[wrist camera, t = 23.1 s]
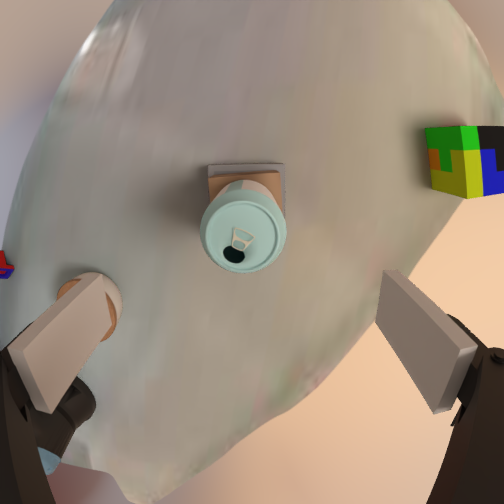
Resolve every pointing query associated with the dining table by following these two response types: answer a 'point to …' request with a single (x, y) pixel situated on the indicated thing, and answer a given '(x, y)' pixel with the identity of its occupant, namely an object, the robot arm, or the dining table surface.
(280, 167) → the tower base
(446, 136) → the puzzle toy
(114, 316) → the lidded jar
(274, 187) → the walnut brick
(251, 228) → the can
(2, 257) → the multicoloured piece
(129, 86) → the dining table surface
